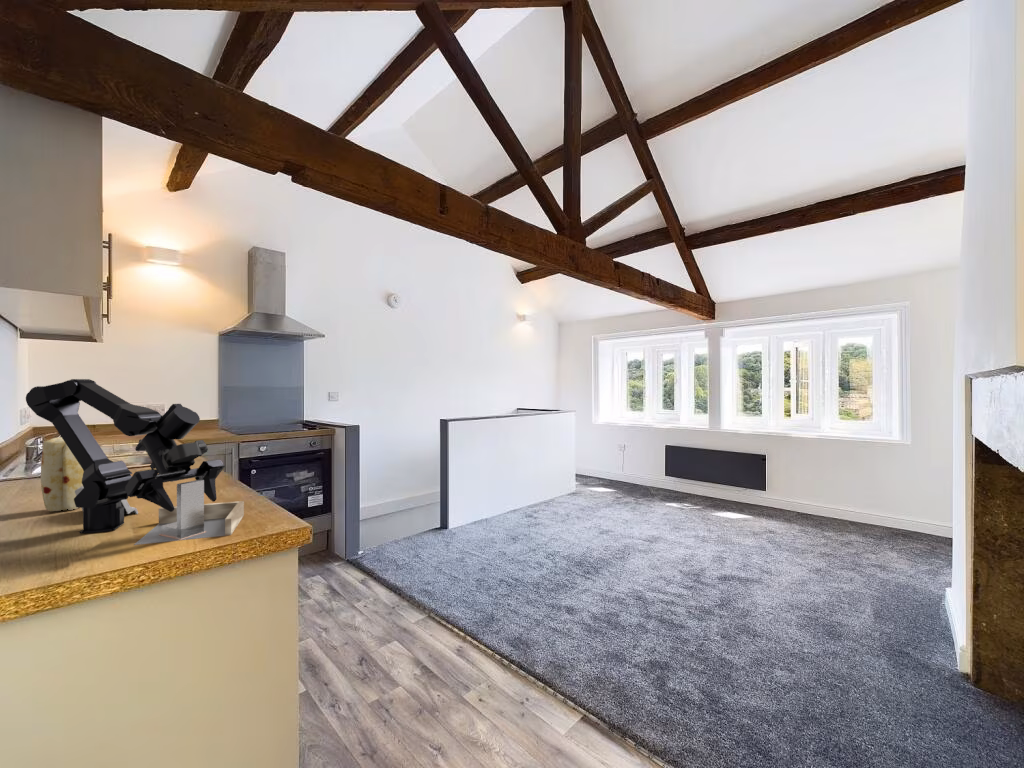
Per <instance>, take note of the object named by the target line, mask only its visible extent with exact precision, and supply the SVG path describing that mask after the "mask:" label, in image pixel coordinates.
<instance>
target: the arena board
mask: <svg viewBox="0 0 1024 768" xmlns="http://www.w3.org/2000/svg"><path fill="white" fill-rule="evenodd" d="M225 519H226V518H219V519H208V520H204V532H202V533H199V534H195V535H192V536H189V537H185V538H182V539H180V538H175V537H171V536H166V535H162V525H166V524H170V523H164V524H159V523H158V524H156V526H154V527H153V528H152V529H150V531H148V532H147V533H146V534H145V535H144V536H143V537H141V538H140V539H139V540H138V541H136V542H135V543H134V544H133V546H137V545H138V546H139V545H148V544H149V545H150V544H156V543H157V544H158V543H167V542H176V541H177V542H179V541H185V540H186V541H187V540H197V539H209V538H215V537H216V538H217V537H224V536H225ZM241 521H242V519H241V520H240V522H241ZM234 531H235V530H234ZM234 531H233V533H234ZM227 536H228V535H226V536H225V537H227Z"/></svg>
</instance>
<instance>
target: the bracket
mask: <svg viewBox="0 0 1024 768" xmlns="http://www.w3.org/2000/svg"><path fill="white" fill-rule="evenodd" d="M204 504H205V493H204V480H196V479H194V480H190V481H186V482H185V481H184V482H181V483H177V484H176V506H177V522H174V523H170V524H166V525H162V535H166V536H171V537H175V538H180V539H182V538H185V537H189V536H192V535H195V534H199V533H202V532H204Z"/></svg>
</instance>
